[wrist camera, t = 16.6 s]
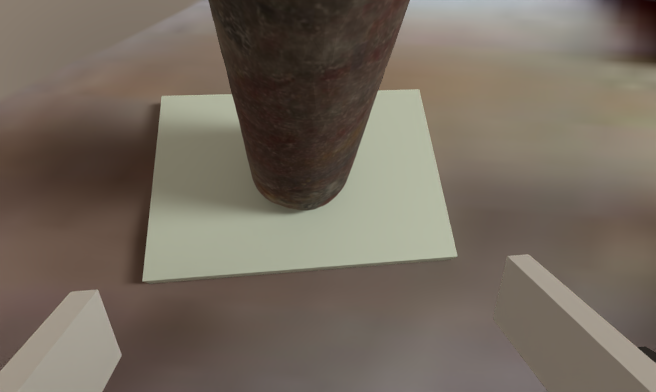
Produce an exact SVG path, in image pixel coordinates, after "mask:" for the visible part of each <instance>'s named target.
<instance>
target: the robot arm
mask: <svg viewBox="0 0 656 392" xmlns="http://www.w3.org/2000/svg"><path fill="white" fill-rule="evenodd" d="M493 320H494V321H495V322H496V324H497V325H498V326H499V328H500V329H501V330H502V331H503V333H504V334H505V335H506V337H507V338H508V339H509V341H510V342H511V343H512V345H513V346H514V347H515V349H516V350H517V351H518V353H519V354H520V355H521V357H522V358H523V359H524V360H525V362H526V363H527V364H528V366H529V367H530V368H531V370H532V371H533V372H534V374H535V375H536V376H537V378H538V379H539V380H540V382H541V383H542V384H543V386H544V387H545V388H546V389H547V391H548V392H656V353H655V352H654V351H652V350H650V349H648V348H647V347H636V346H635V345H634V344H633V343H631V342H630V341H629V340H628V339H627V338H626V337H624V336H623V335H622V334H621V333H620V332H619V331H617V330H616V329H615V328H614V327H613V326H612V325H610V324H609V323H608V322H607V321H606V320H605V319H603V318H602V317H601V316H600V315H599V314H598V313H596V312H595V311H594V310H593V309H592V308H591V307H589V306H588V305H587V304H586V303H585V302H584V301H582V300H581V299H580V298H579V297H578V296H577V295H575V294H574V293H573V292H572V291H571V290H570V289H568V288H567V287H566V286H565V285H564V284H563V283H561V282H560V281H559V280H558V279H557V278H556V277H554V276H553V275H552V274H551V273H550V272H549V271H547V270H546V269H545V268H544V267H543V266H542V265H540V264H539V263H538V262H537V261H536V260H535V259H533V258H532V257H531V256H530V255H529V254H527V255H515V256H507V260H506V264H505V268H504V273H503V277H502V281H501V286H500V290H499V294H498V299H497V303H496V307H495V312H494V316H493ZM121 356H122V355H121V352H120V349H119V346H118V344H117V341H116V338H115V335H114V333H113V330H112V327H111V324H110V322H109V319H108V316H107V313H106V311H105V308H104V305H103V302H102V300H101V297H100V294H99V291H98V290H85V291H73V292H70V293H69V294H68V295H67V297H66V298H65V299H64V300H63V301H62V302H61V303H60V304H59V306H58V307H57V308H56V309H55V310H54V311H53V312H52V313H51V315H50V316H49V317H48V318H47V319H46V320H45V321H44V322H43V324H42V325H41V326H40V327H39V328H38V329H37V330H36V331H35V333H34V334H33V335H32V336H31V337H30V338H29V339H28V340H27V342H26V343H25V344H24V345H23V346H22V347H21V348H20V349H19V351H18V352H17V353H16V354H15V355H14V356H13V357H12V358H11V360H10V361H9V362H8V363H7V364H6V365H5V366H4V367H3V369H2V370H1V371H0V392H102V391H103V390H104V388H105V386H106V384H107V382H108V380H109V378H110V377H111V375H112V373H113V371H114V369H115V367H116V365H117V364H118V362H119V360H120V358H121Z"/></svg>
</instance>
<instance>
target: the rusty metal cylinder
mask: <svg viewBox="0 0 656 392" xmlns="http://www.w3.org/2000/svg"><path fill="white" fill-rule="evenodd" d="M409 1H410V0H209V4H210V8H211V12H212V17H213V20H214V24H215V27H216V32H217V36H218V40H219V44H220V49H221V53H222V56H223V59H224V63H225V66H226V70H227V75H228V79H229V84H230V88H231V92H232V96H233V100H234V103H235V107H236V112H237V115H238V119H239V124H240V128H241V133H242V137H243V141H244V145H245V150H246V154H247V159H248V163H249V166H250V170H251V175H252V179H253V182H254V184H255V186H256V188H257V190H258V191H259V192H260V193H261V194H262V195H263V196H264V197H265V198H266V199H268V200H269V201H271V202H273V203H275V204H278V205H280V206H283V207H286V208H289V209H296V210H301V211H308V210H314V209H317V208H319V207H321V206H324V205H326V204H327V203H329V202H330V201H331V200H333V199H334V198H335V197H336V196H337V195H338V193H339V192H340V191H341V190H342V189H343V187H344V186H345V184H346V181H347V179H348V176H349V174H350V171H351V168H352V165H353V163H354V160H355V157H356V155H357V151H358V148H359V145H360V142H361V139H362V137H363V134H364V131H365V128H366V125H367V122H368V119H369V116H370V113H371V109H372V107H373V104H374V101H375V98H376V95H377V92H378V89H379V86H380V84H381V81H382V78H383V75H384V72H385V68H386V66H387V63H388V61H389V58H390V55H391V53H392V50H393V47H394V45H395V42H396V39H397V35H398V33H399V30H400V27H401V24H402V21H403V18H404V15H405V12H406V10H407V7H408V4H409Z"/></svg>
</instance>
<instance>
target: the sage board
mask: <svg viewBox="0 0 656 392" xmlns="http://www.w3.org/2000/svg"><path fill="white" fill-rule="evenodd" d="M455 257H457V252H456V248H455V243H454V239H453V235H452V230H451V226H450V222H449V217H448V213H447V208H446V204H445V200H444V195H443V191H442V187H441V182H440V178H439V174H438V169H437V165H436V161H435V156H434V152H433V148H432V143H431V139H430V134H429V130H428V126H427V121H426V117H425V113H424V108H423V104H422V100H421V95H420V91H419V89H416V90H378V92H377V95H376V98H375V101H374V104H373V107H372V109H371V113H370V116H369V119H368V122H367V125H366V128H365V131H364V134H363V137H362V139H361V142H360V145H359V148H358V151H357V155H356V157H355V160H354V163H353V165H352V168H351V171H350V174H349V176H348V179H347V181H346V184H345V186H344V187H343V189H342V190H341V191H340V192H339V193H338V195H337V196H336V197H335V198H334V199H333V200H331V201H330V202H329V203H327V204H326V205H324V206H321V207H319V208H317V209H314V210H308V211H301V210H296V209H289V208H286V207H283V206H280V205H278V204H275V203H273V202H271V201H269V200H268V199H266V198H265V197H264V196H263V195H262V194H261V193H260V192H259V191H258V190H257V188H256V186H255V184H254V182H253V179H252V175H251V170H250V166H249V163H248V159H247V154H246V150H245V145H244V141H243V137H242V133H241V128H240V124H239V119H238V115H237V112H236V107H235V103H234V100H233V96H232V94H222V95H183V96H162V99H161V108H160V118H159V127H158V137H157V146H156V156H155V165H154V175H153V184H152V194H151V203H150V213H149V222H148V232H147V241H146V251H145V260H144V270H143V279H142V281H143V282H146V283H149V284H151V283H164V282H176V281H189V280H201V279H214V278H226V277H239V276H251V275H264V274H276V273H289V272H301V271H314V270H327V269H339V268H352V267H364V266H377V265H389V264H402V263H414V262H427V261H439V260H451V259H453V258H455Z"/></svg>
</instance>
